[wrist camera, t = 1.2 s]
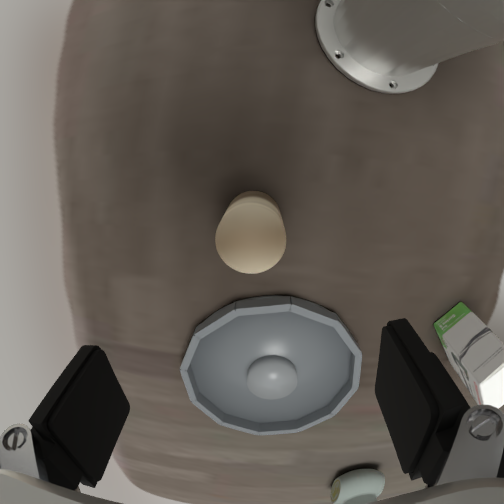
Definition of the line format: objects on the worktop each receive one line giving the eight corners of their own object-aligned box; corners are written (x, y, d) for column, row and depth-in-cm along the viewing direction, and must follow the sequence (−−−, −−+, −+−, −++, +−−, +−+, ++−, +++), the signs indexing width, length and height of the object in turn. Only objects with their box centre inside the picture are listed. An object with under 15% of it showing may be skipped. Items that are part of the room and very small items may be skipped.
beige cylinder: (222, 194, 28) (210, 210, 21) (277, 187, 28) (282, 201, 21) (230, 246, 30) (221, 276, 23) (283, 240, 29) (289, 269, 23)
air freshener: (340, 464, 42) (349, 511, 33) (384, 458, 42) (396, 502, 33) (326, 490, 46) (332, 530, 36) (366, 485, 46) (374, 524, 36)
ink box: (431, 323, 32) (478, 386, 21) (462, 299, 31) (516, 354, 20) (448, 361, 34) (486, 420, 23) (475, 340, 33) (518, 393, 22)
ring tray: (168, 303, 32) (162, 313, 30) (360, 284, 31) (366, 294, 28) (206, 424, 39) (204, 436, 36) (350, 413, 37) (353, 424, 35)
